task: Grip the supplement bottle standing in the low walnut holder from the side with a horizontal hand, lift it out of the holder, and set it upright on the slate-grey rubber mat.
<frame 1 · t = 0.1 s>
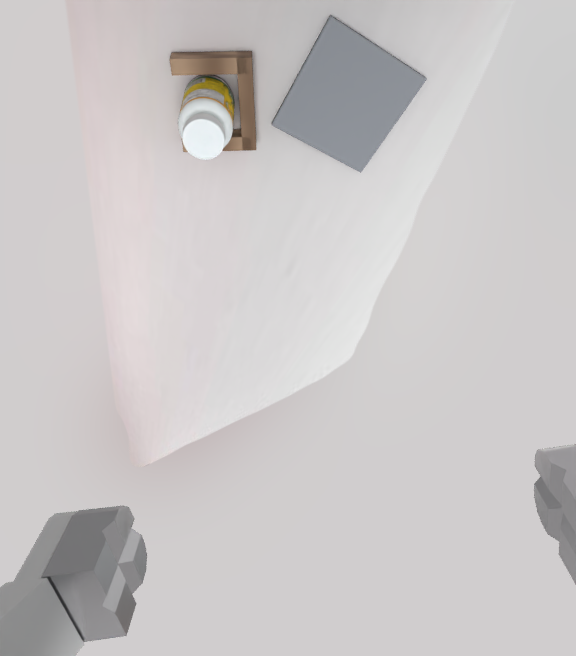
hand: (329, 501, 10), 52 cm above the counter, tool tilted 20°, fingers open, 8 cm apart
slot holder: (209, 100, 55), on the counter
slate mat: (346, 100, 56), on the counter
supplement bottle: (209, 99, 56), on the counter
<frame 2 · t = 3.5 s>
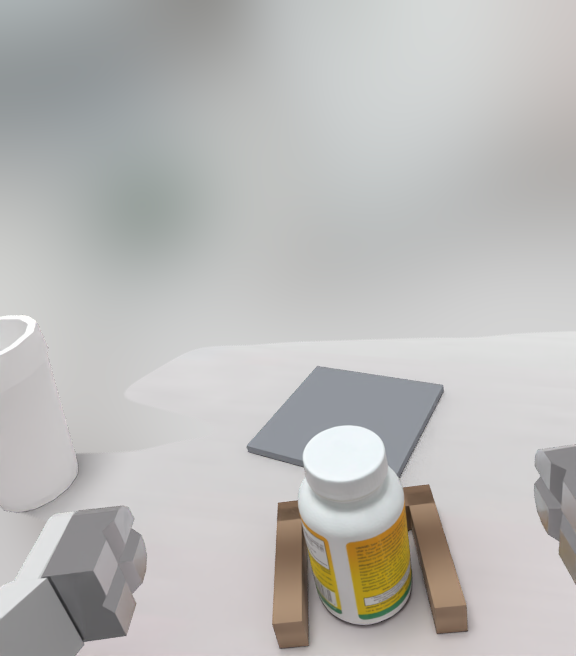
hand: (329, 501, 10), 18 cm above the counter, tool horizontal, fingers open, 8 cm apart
foam cup: (40, 484, 43), on the counter
slot holder: (364, 582, 29), on the counter
slate mat: (348, 420, 42), on the counter
supplement bottle: (365, 585, 29), on the counter
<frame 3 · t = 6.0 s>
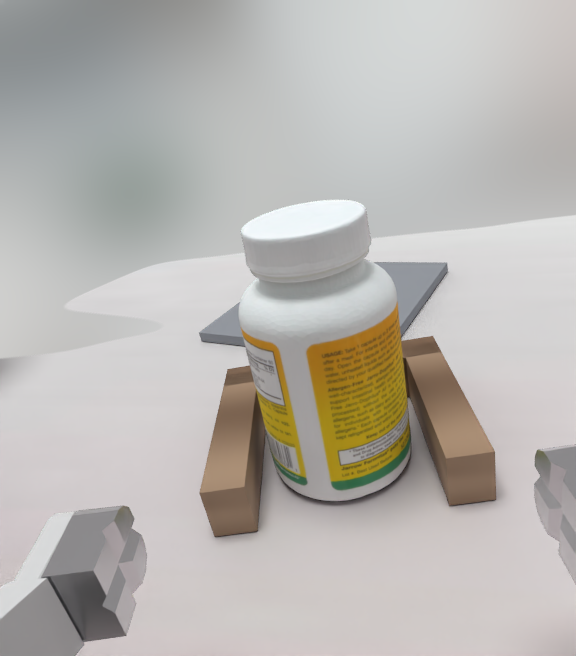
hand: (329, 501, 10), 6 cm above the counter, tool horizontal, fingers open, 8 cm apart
slot holder: (343, 455, 20), on the counter
slate mat: (329, 304, 34), on the counter
supplement bottle: (344, 459, 20), on the counter
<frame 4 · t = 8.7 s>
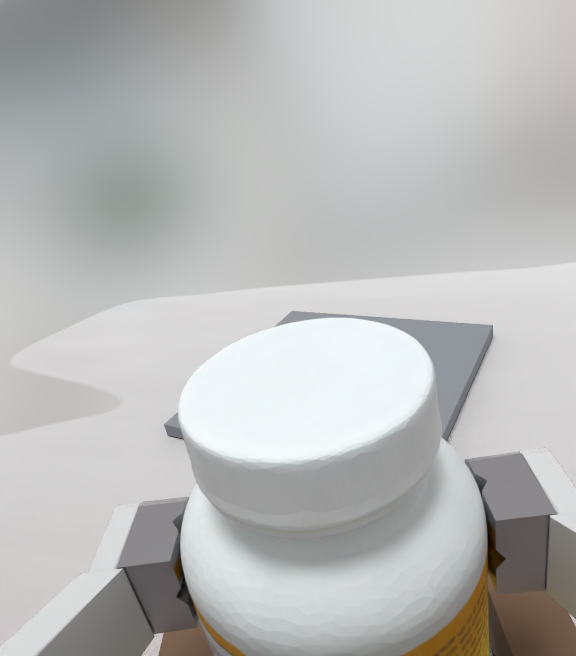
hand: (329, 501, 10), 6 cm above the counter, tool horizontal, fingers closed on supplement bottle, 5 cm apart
slate mat: (338, 382, 25), on the counter
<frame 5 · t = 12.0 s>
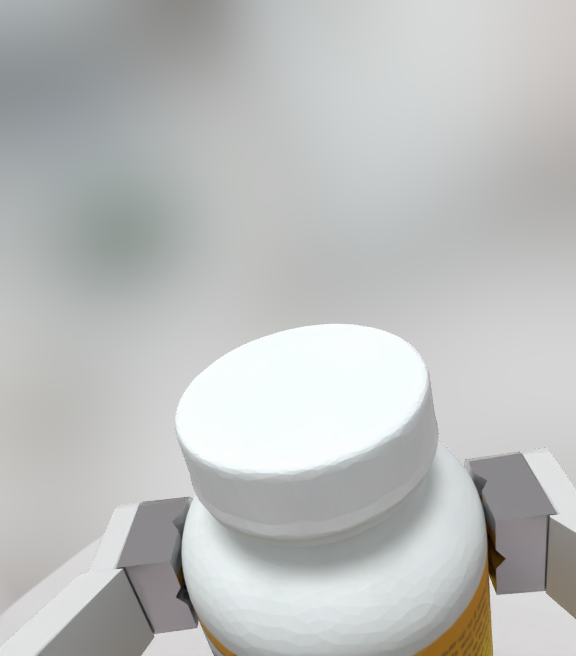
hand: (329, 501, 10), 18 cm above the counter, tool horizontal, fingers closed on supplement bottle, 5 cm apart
when the fingers open (8 cm above the counter, at t = 15.6 s): supplement bottle stays where it is, resting on slate mat.
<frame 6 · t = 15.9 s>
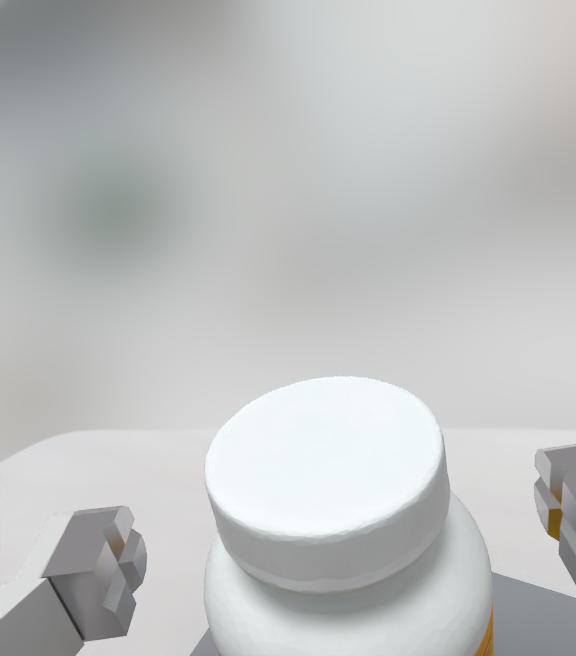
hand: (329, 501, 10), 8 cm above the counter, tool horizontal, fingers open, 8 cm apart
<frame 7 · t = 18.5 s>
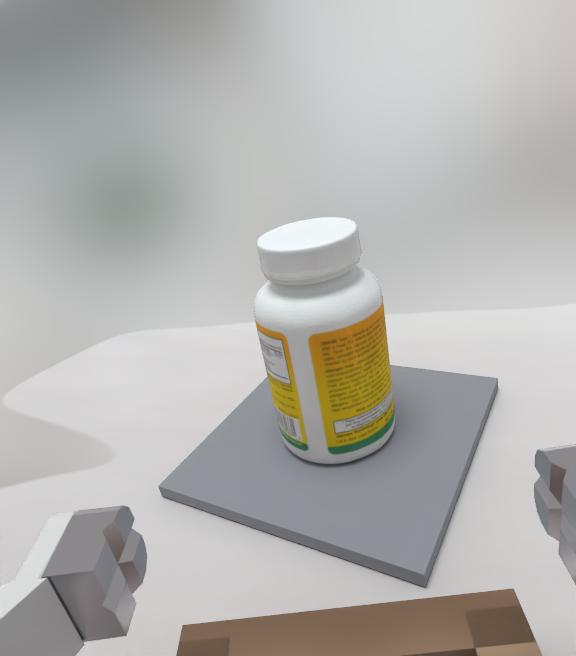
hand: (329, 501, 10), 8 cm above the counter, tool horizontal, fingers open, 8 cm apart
slate mat: (338, 439, 25), on the counter
supplement bottle: (339, 432, 24), resting on slate mat
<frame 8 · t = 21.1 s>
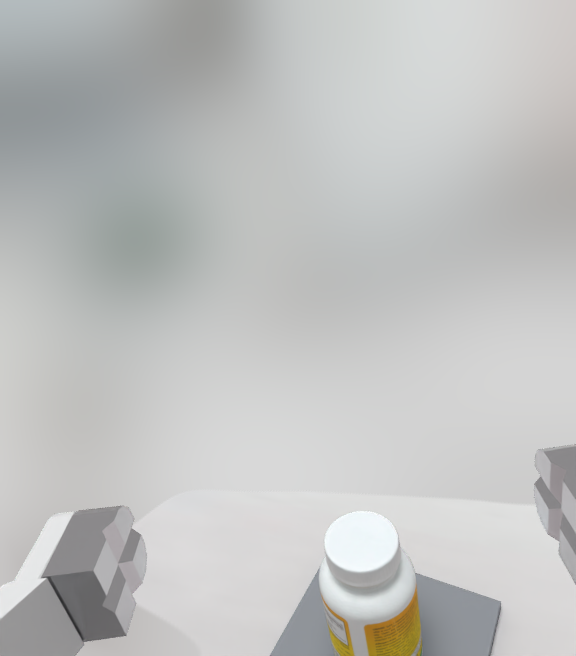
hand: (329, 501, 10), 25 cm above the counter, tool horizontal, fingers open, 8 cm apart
slate mat: (378, 655, 32), on the counter
supplement bottle: (379, 652, 32), resting on slate mat
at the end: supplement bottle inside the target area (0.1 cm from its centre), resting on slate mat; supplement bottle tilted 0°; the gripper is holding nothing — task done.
